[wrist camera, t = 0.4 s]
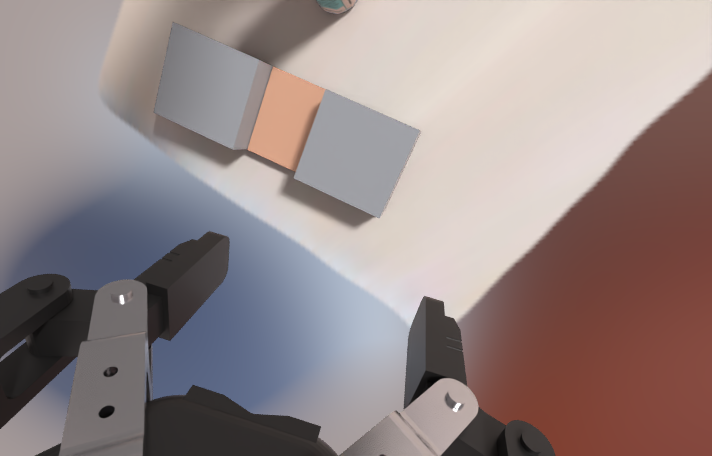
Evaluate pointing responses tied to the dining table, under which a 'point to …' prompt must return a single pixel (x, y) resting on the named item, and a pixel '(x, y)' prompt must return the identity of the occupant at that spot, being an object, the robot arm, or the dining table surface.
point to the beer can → (336, 5)
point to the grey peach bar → (283, 120)
